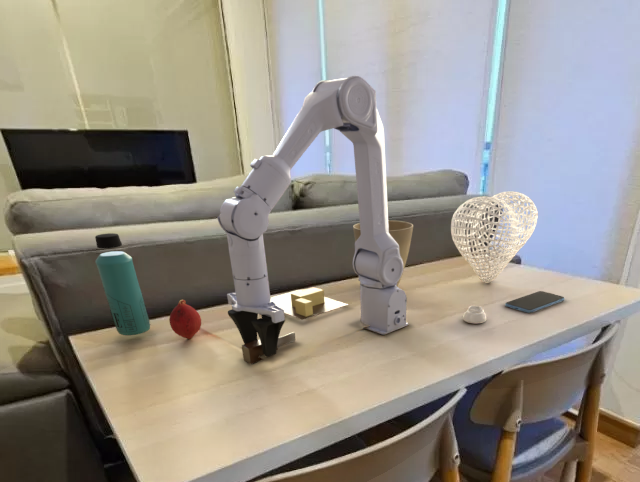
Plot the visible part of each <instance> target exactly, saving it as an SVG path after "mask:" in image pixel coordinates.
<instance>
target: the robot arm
mask: <svg viewBox="0 0 640 482" xmlns="http://www.w3.org/2000/svg"><path fill="white" fill-rule="evenodd" d="M384 128H385V127H384V124H383V122H382V119H381V116H380V114H379V110H378V108H377V91H376V89H374V87H373V86H372V85H371V84H369V82H367V80H365V79H364V77H361V76H359V75H350V76H348V77H344V78H338V79H332V80H327V79H323V80H320V81H318V82H317V83H316V84H315V85H314V86H313V88H312V90H311V92H309V93H308V94H307V95H305V97H304V100H303V103H302V105H301V108H300V110H299V111H298V113H297V114H296V116H295V118H294V119H293V121H292V123H291V124H290V125H289V127H288V129H287V131H286V132H285V134H284V136H283V137H282V139H281V141H280V142H279V144H278V145H277V146H276V149H275V150H274V151H273V153H272V154H271V155H262V156H260V157H259V159H258V158H257V159H256V158H254V159H253V160H252V161H251V163H250V164H249V166H250V167H251V170H250V172H249V173H248V175H247V176H246V177H245V179H244V180H243V182H242V183H241V184H240V186H236V187H235V188H234V190H233V193H234V196H232V197H230V198H227V199H225V200H224V202H222V204H221V206H220V208H219V212H220V213H219V215H218V216H217V217H216V218H217V222H218V224H219V226H220V228H221V229H222V230H223V231H224V232H225V234H226V238H227V245H228V254H229V260H230V267H231V273H232V279H233V286H234V292H229V293H227V294H226V298H227V304H228V305H229V306H231V309H229V310H228V311H227V315H228V316H229V317H230V319H231V320H232V321H233V323H234V325H235V326H236V328H237V330H238V332H239V335H240V336H241V340H242V342H243V345H244V344H247V343H250V342H253V341H256V340H258V338H259V339H260V342H261V346H262V350H263V353H264V355H263V356H264V357H265V358H268V357H271V356H274V355H276V354H277V351H278V350H277V343H278V338H279V337H280V333H281V331H282V329H283V326H284V324H285V322H286V316H285V313H284V309H282V308H280V307H279V306H278V305H277V304H276V303H275V302H274V301H273V300H272V299H271V298H270V297H271V292H270V291H271V290H270V282H269V281H270V280H269V275H268V264H267V258H266V257H267V256H266V249H265V241H264V233H265V232H267V231H268V228H269V224H270V223H269V216H270V214H271V212H272V211H273V209H274V208H275V206H276V205H277V204H278V202H279V201H280V199H281V198H282V196H283V195H284V194H285V192H286V191H287V189H288V188H289V186H290V185H291V184H292V177H291V170H292V168H293V167H294V166H295V165H296V164H297V162H298V161H299V160H300V158H301V157H303V155H304V154H305V152H306V151H307V150H308V149H309V147H310V146H311V145H312V143H313V142H314V141H315V140H316V138H317V137H318V136H319V134H321V133H322V132H325V131H329V130H333V129H334V130H337V131H338V132H340V134H342V135H344V136H345V138H347V139H348V141H350V142H351V143H352V145H353V156H354V168H355V181H356V182H355V183H356V192H357V205H358V218H359V223H360V231H361V235H360V237H359V238H358V239H357V241H356V242H355V241H354V254H353V257H352V269H353V272H354V273H355V274H356V275H357V277H358V282H359V292H360V293H359V295H360V296H359V298H360V299H359V301H360V322H361V323H362V324H363V325H366V326H364V327H363V329H365V330H367V331H371V332H373V333H376V334H379V335H382V336H384V335H387V334H390V333H392V332H395V331H398V330H400V329H402V328H405V327H408V326H409V323H408V322H407V306H408V305H407V303H408V302H407V301H408V300H407V299H408V297H407V293H406V292H405V290H403V289H402V288H400V287H399V286H398V287H397V286H396V285H397V282H398V281H399V280H400V278H401V279H402V277H403V274H404V271H403V268H404V265H403V260H402V258H401V256H400V253H399V245H398V244H397V242H396V241H395V240H394V239H393V237H392V236H391V235H390V234H389V224H388V220H389V208H388V204H389V203H388V187H387V186H388V185H387V184H388V183H387V165H386V147H385V146H386V145H385V144H386V143H385V130H384ZM404 269H405V268H404ZM402 273H403V274H402ZM401 276H402V277H401ZM400 281H401V280H400ZM259 315H260V316H261V317H260V318H259V317H258V316H259Z"/></svg>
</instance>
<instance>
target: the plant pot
mask: <svg viewBox="0 0 640 482" xmlns="http://www.w3.org/2000/svg"><path fill="white" fill-rule="evenodd" d="M388 224H389V234H390V235H391V236H392V237H393V239H394V240H395V241H396V242H397V244H398V245H399V253H400V256H401V258H402V260H403V265H404V268H403V273H402V276H401V278H400V280H399V281H398V282H397V285H396V286H397V287H398V288H399V285H400V283H401V280H402V277H403V275H404V271H405V267H406V265H407V261H408V256H409V252H410V248H411V243H412V242H411V241H412V237H413V229H414V224H413V223H412V222H407V221H404V220H403V221H402V220H389V219H388ZM352 229H353V230H352V231H353V236H354V243H355V242H356V241H357V239H358V238H359V237H360V235H361V231H360V222H358V223H355V224H353V226H352Z"/></svg>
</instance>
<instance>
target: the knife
mask: <svg viewBox="0 0 640 482" xmlns="http://www.w3.org/2000/svg"><path fill="white" fill-rule="evenodd" d="M295 341H296V332H295V331H292V332H290V333H288V334H285V335H282V336H279V338H278V343H277V350H276V351H278V349H279V347H282V346H285V345H288V344H290V343H292V342H295ZM241 352H242V358H243V361H244V362H246V363H248V364H249V365H252V364H256V363H259V362H261V361H264V360H265V358H263V357H262V356H264V353H263V350H262V346H261V342H260V338H259V339H257V340H256V341H253V342H250V343H247V344H244V343H243V344H241Z"/></svg>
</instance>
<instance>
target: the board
mask: <svg viewBox="0 0 640 482" xmlns="http://www.w3.org/2000/svg"><path fill="white" fill-rule="evenodd" d="M302 290H303V289H296V290H292V291H290V292H285V293H282V294H278V295H274V296H270V298H271V299H272V300H273V301H274V302H275V303H276V304H277V305H278V306H279V307H280V308H282V309H284V315H285V314H286V315H288V316H290V317H293V318H296V319H299V320H301V321H303V320H306V319H309V318H312V317H315V316H318V315H322V314H325V313H327V312H331V311H333V310H338V309H340V308H343V307H346V306H349V305H350V304H348V303H345V302H342V301H339V300H336V299H332V298H330V297H326V296H324V301H325V303H321V304H318V305H315V306H312V308H313V315H310V316H307V317H305V316H303V315H300V314H297V313H296V309H295V307H293V306H292V303H291V293H295V292H298V291H302Z"/></svg>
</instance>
